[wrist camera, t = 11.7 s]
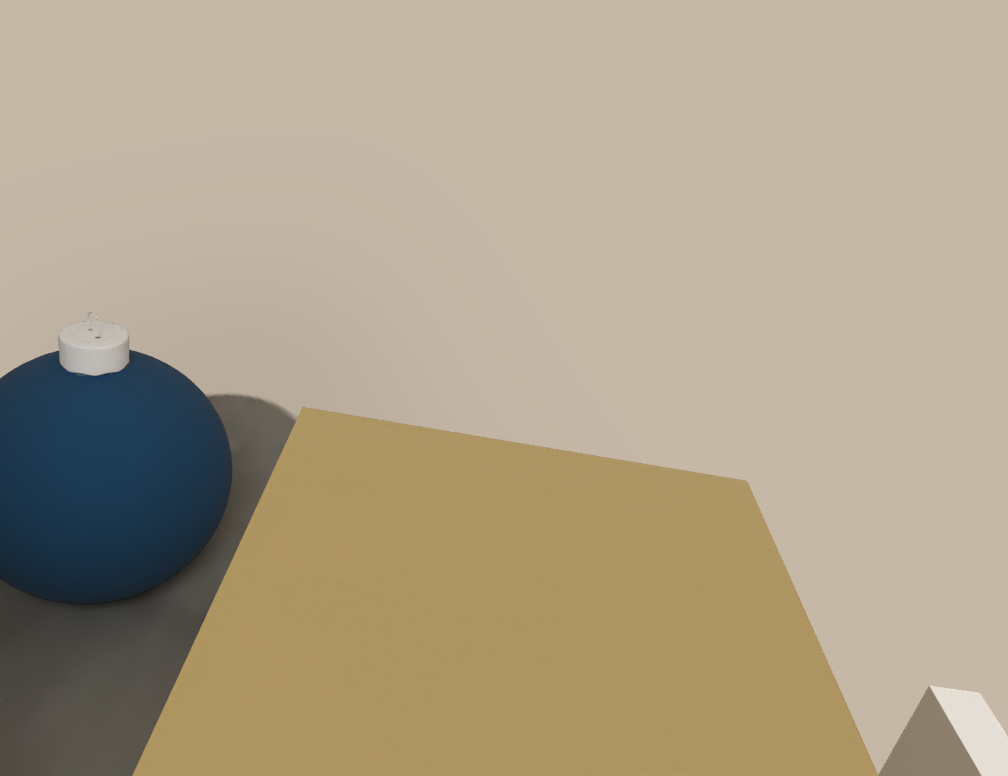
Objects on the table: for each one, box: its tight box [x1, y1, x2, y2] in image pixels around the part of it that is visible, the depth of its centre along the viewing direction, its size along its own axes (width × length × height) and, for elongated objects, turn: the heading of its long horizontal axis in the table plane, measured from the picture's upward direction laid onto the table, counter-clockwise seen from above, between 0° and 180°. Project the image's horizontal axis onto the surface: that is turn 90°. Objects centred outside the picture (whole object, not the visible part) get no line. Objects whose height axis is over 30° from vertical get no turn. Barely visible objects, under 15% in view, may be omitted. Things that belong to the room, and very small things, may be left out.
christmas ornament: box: [0, 312, 232, 604], centre depth 28 cm, size 8×8×10 cm
